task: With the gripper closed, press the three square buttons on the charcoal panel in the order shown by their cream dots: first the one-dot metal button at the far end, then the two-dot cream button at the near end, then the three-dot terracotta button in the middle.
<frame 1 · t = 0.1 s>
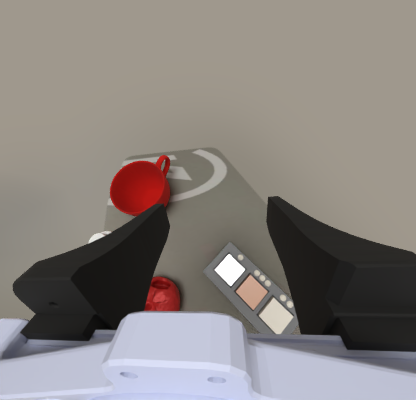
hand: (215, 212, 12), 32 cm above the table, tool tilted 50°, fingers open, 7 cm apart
supplement bottle: (125, 245, 45), on the table
ceramic cup: (159, 194, 49), on the table
button one dot: (229, 269, 38), point 2 cm above the table, slide at 0.0 cm
button two dot: (274, 315, 34), point 2 cm above the table, slide at 0.0 cm
button panel: (249, 289, 38), on the table
button three dot: (251, 291, 36), point 2 cm above the table, slide at 0.0 cm
red hollow rounded sculpture: (163, 298, 40), on the table
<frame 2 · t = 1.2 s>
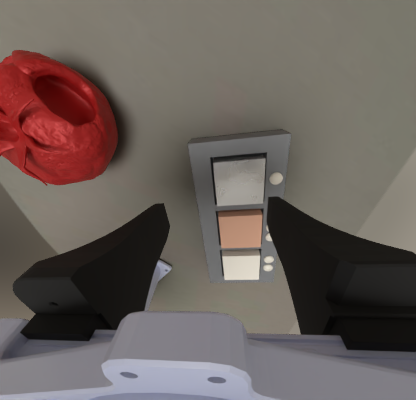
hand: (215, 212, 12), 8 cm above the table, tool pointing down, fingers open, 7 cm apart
button one dot: (238, 180, 17), point 2 cm above the table, slide at 0.0 cm
button two dot: (240, 262, 23), point 2 cm above the table, slide at 0.0 cm
button panel: (238, 215, 22), on the table
button three dot: (239, 227, 20), point 2 cm above the table, slide at 0.0 cm
red hollow rounded sculpture: (83, 122, 18), on the table
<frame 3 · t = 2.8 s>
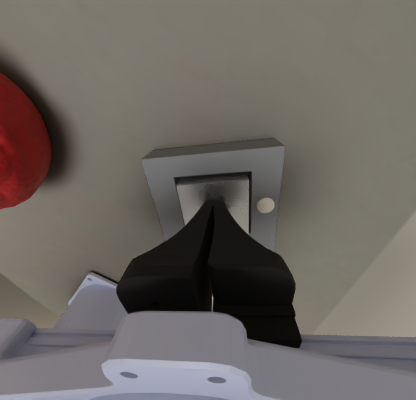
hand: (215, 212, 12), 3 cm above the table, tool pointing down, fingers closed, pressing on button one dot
button one dot: (215, 206, 13), point 2 cm above the table, slide at 0.1 cm, touching gripper
button two dot: (225, 300, 19), point 2 cm above the table, slide at 0.0 cm
button panel: (221, 243, 18), on the table
red hollow rounded sculpture: (10, 127, 13), on the table
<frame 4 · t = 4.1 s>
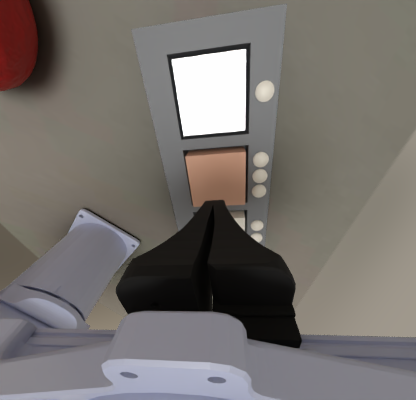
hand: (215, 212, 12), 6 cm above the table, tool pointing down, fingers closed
button one dot: (211, 97, 12), point 2 cm above the table, slide at 0.6 cm
button two dot: (221, 231, 18), point 2 cm above the table, slide at 0.0 cm
button panel: (217, 168, 17), on the table
button three dot: (217, 177, 15), point 2 cm above the table, slide at 0.0 cm
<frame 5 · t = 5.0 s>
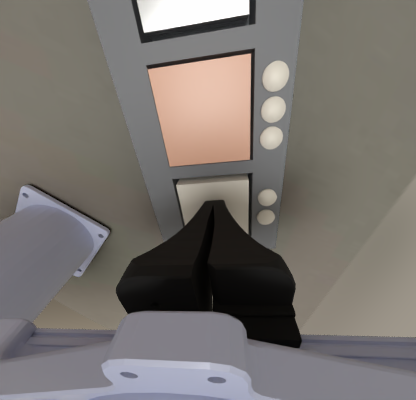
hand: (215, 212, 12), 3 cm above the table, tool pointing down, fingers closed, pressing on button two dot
button two dot: (215, 205, 13), point 2 cm above the table, slide at 0.4 cm, touching gripper
button panel: (208, 114, 12), on the table
button three dot: (205, 117, 9), point 2 cm above the table, slide at 0.0 cm
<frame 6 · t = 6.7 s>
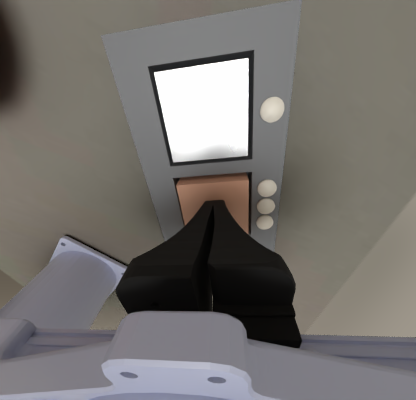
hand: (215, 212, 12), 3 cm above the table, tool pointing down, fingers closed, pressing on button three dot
button one dot: (206, 116, 10), point 2 cm above the table, slide at 0.6 cm
button panel: (215, 192, 15), on the table
button three dot: (215, 206, 13), point 2 cm above the table, slide at 0.2 cm, touching gripper
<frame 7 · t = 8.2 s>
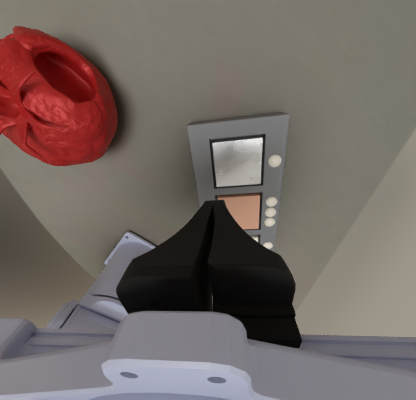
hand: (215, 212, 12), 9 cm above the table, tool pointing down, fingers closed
button one dot: (237, 161, 18), point 2 cm above the table, slide at 0.6 cm
button two dot: (239, 246, 24), point 2 cm above the table, slide at 0.6 cm
button panel: (237, 202, 22), on the table
button three dot: (238, 209, 21), point 2 cm above the table, slide at 0.6 cm
red hollow rounded sculpture: (83, 106, 18), on the table
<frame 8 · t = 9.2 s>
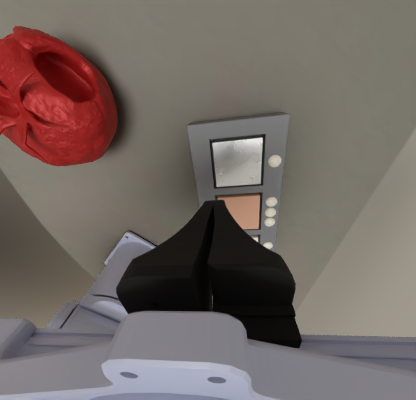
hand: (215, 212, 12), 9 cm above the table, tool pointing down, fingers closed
button one dot: (237, 161, 18), point 2 cm above the table, slide at 0.6 cm
button two dot: (239, 246, 24), point 2 cm above the table, slide at 0.6 cm
button panel: (237, 202, 22), on the table
button three dot: (238, 209, 21), point 2 cm above the table, slide at 0.6 cm
red hollow rounded sculpture: (83, 106, 18), on the table
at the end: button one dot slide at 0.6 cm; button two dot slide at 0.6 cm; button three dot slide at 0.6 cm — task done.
